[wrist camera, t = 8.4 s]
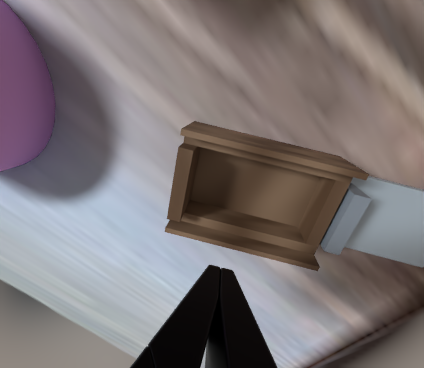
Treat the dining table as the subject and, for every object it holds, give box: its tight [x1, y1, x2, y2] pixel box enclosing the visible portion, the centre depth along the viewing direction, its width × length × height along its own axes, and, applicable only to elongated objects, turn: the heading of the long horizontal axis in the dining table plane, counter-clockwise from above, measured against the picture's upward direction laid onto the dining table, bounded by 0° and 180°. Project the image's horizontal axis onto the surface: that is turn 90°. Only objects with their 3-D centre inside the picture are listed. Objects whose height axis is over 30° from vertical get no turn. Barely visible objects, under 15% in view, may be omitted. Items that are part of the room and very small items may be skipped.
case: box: [165, 121, 369, 271], centre depth 17 cm, size 12×8×4 cm, turn 78°
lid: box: [320, 176, 424, 268], centre depth 18 cm, size 10×7×4 cm, turn 77°
